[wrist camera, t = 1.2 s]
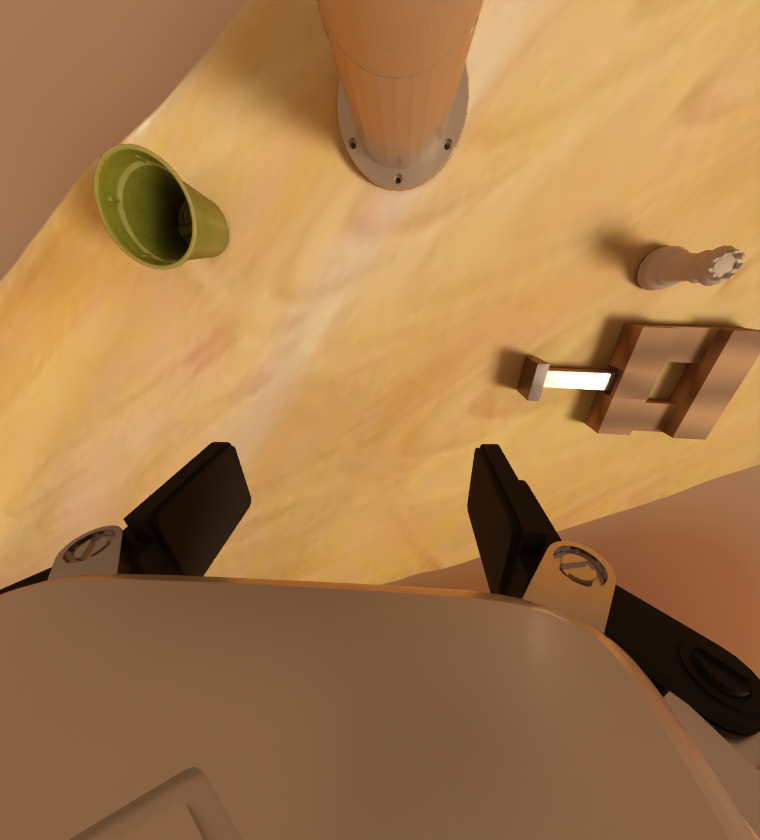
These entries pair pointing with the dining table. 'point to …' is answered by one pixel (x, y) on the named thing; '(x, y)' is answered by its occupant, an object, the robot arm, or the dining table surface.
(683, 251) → the rook chess piece
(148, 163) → the plant pot
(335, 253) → the dining table surface
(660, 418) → the mount
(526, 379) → the lock pin
